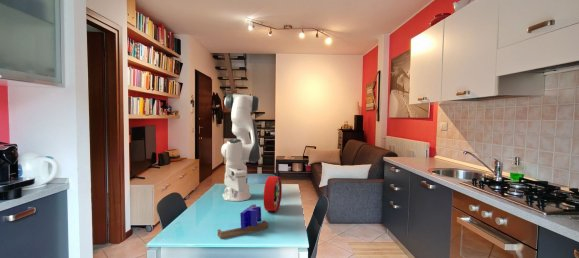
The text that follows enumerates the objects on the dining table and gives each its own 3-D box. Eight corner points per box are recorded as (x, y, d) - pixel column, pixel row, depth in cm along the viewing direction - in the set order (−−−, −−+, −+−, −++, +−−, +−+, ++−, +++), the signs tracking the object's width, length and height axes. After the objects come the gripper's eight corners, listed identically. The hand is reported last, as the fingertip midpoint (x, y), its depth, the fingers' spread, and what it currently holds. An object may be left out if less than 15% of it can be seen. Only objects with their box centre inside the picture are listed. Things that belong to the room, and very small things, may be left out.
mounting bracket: (241, 228, 130) (253, 228, 129) (240, 213, 130) (252, 213, 129) (253, 218, 148) (264, 218, 146) (252, 204, 148) (263, 204, 147)
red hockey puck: (273, 216, 157) (273, 180, 156) (263, 215, 158) (263, 179, 157) (281, 205, 176) (281, 173, 176) (272, 204, 178) (272, 173, 177)
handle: (217, 236, 129) (217, 227, 129) (264, 226, 142) (264, 218, 142) (220, 239, 125) (220, 230, 125) (268, 228, 138) (268, 220, 138)
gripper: (221, 168, 152) (221, 193, 152) (236, 174, 135) (236, 202, 135) (232, 167, 155) (232, 192, 156) (248, 172, 138) (248, 200, 139)
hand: (234, 197), depth 145 cm, fingers closed
